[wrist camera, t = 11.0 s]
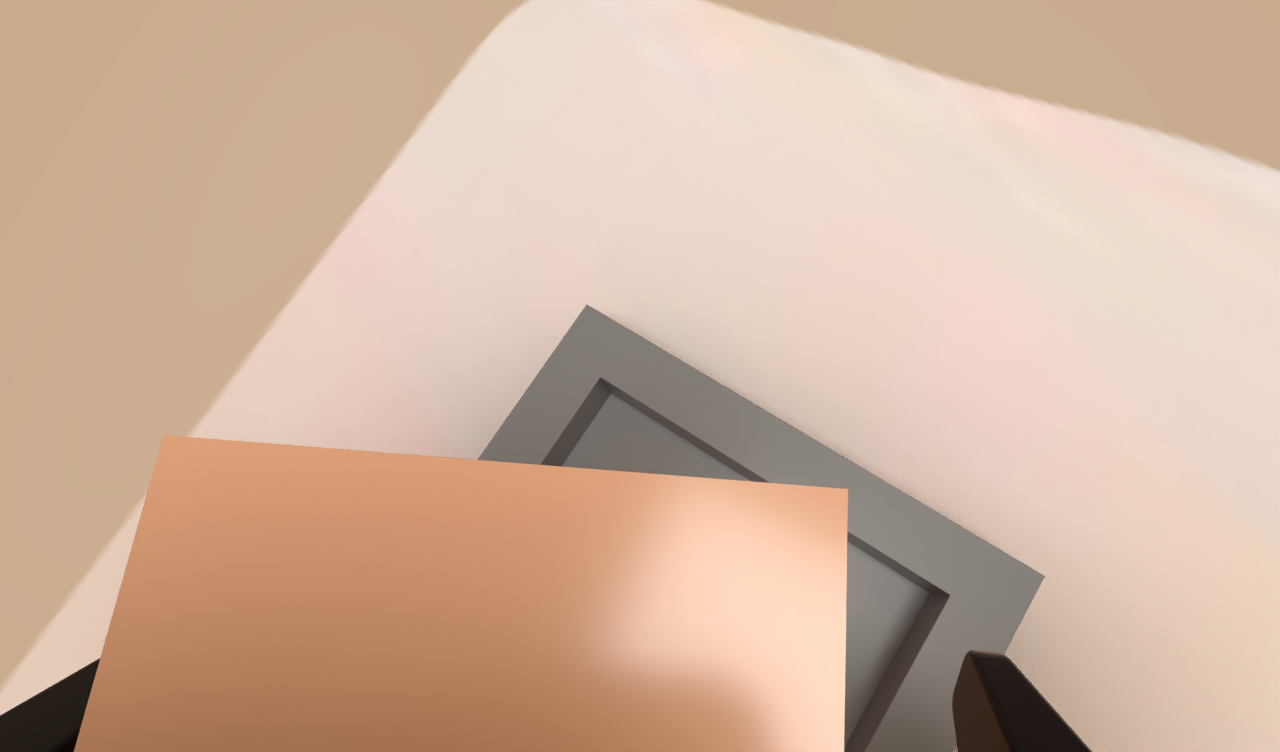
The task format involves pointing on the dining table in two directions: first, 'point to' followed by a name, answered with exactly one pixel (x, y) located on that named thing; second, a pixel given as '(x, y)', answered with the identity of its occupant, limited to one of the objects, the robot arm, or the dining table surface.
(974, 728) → the robot arm
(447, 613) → the peach square prism
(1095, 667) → the dining table surface
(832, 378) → the dining table surface
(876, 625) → the tray
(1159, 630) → the dining table surface
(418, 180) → the dining table surface
